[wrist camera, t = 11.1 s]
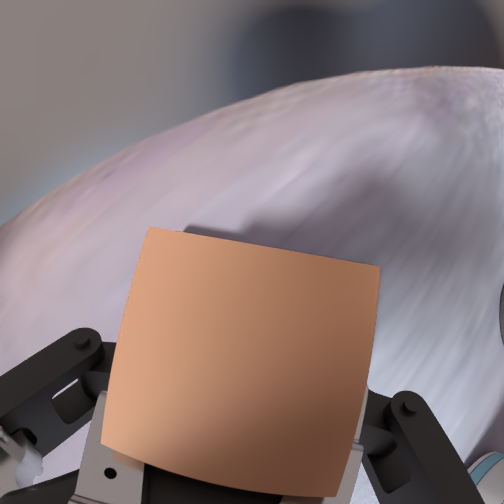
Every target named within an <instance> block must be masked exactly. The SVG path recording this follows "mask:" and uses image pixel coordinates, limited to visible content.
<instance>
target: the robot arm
mask: <svg viewBox="0 0 504 504" xmlns="http://www.w3.org/2000/svg"><path fill="white" fill-rule="evenodd" d="M116 344H117V343H113V342H102V340H101V336H100V334H99V333H98V332H97V331H95V330H93V329H91V328H78V329H75V330H73V331H71V332H70V333H68V334H66V335H65V336H63V337H62V338H60V339H58V340H57V341H55V342H53V343H52V344H50V345H49V346H47V347H46V348H44V349H42V350H41V351H39V352H38V353H36V354H34V355H33V356H31V357H30V358H28V359H27V360H25V361H23V362H22V363H20V364H19V365H17V366H16V367H14V368H13V369H11V370H10V371H8V372H6V373H5V374H3V375H2V376H0V504H349V503H350V500H351V497H352V493H353V490H354V486H355V483H356V479H357V475H358V472H359V468H360V464H361V462H362V464H363V466H364V469H365V471H366V473H367V475H368V478H369V480H370V482H371V485H372V487H373V489H374V491H375V494H376V496H377V498H378V501H379V503H380V504H485V502H484V500H483V498H482V497H481V495H480V493H479V491H478V489H477V487H476V485H475V483H474V482H473V480H472V478H471V476H470V474H469V473H468V471H467V469H466V467H465V465H464V464H463V462H462V460H461V459H460V457H459V455H458V453H457V452H456V450H455V448H454V447H453V445H452V443H451V442H450V440H449V438H448V437H447V435H446V433H445V432H444V430H443V429H442V427H441V425H440V424H439V422H438V421H437V419H436V417H435V416H434V414H433V413H432V411H431V410H430V408H429V406H428V405H427V403H426V402H425V400H424V399H423V398H422V397H421V396H420V395H418V394H416V393H414V392H412V391H400V392H398V393H396V394H395V395H394V396H393V398H389V397H386V396H383V395H380V394H377V393H375V392H373V391H371V390H369V389H368V385H367V384H366V389H365V394H364V399H363V404H362V408H361V413H360V417H359V421H358V425H357V429H356V433H355V437H354V441H353V445H352V448H351V452H350V455H349V459H348V462H347V465H346V468H345V472H344V475H343V478H342V481H341V484H340V487H339V490H338V492H337V495H336V497H306V496H291V495H280V494H271V493H263V492H256V491H249V490H243V489H238V488H232V487H227V486H223V485H218V484H214V483H209V482H205V481H201V480H198V479H194V478H190V477H187V476H183V475H180V474H177V473H173V472H170V471H167V470H164V469H161V468H158V467H156V466H153V465H150V464H147V463H145V462H142V461H139V460H137V459H134V458H132V457H130V456H127V455H125V454H122V453H120V452H118V451H116V450H113V449H111V448H109V447H107V446H105V445H103V444H101V436H102V427H103V419H104V411H105V404H106V398H107V391H108V385H109V379H110V374H111V369H112V363H113V358H114V353H115V348H116ZM76 379H78V381H77V382H76V383H74V384H73V385H72V386H70V387H69V388H67V389H66V390H65V391H63V392H62V393H60V394H59V395H58V396H56V397H55V398H53V399H52V397H53V396H54V395H55V394H56V393H57V392H59V391H60V390H62V389H63V388H64V387H66V386H67V385H69V384H70V383H71V382H73V381H74V380H76ZM91 419H92V421H91V424H90V428H89V432H88V436H87V440H86V444H85V448H84V452H83V457H82V461H81V466H80V469H78V470H75V471H72V472H70V473H67V474H64V475H62V476H59V477H56V478H53V479H50V480H47V481H44V482H41V483H38V484H35V485H32V484H33V480H34V478H35V476H40V475H41V474H42V473H43V467H42V458H43V457H44V456H46V455H47V454H48V453H50V452H51V451H52V450H53V449H55V448H56V447H57V446H59V445H60V444H61V443H62V442H64V441H65V440H66V439H67V438H69V437H70V436H71V435H73V434H74V433H75V432H76V431H78V430H79V429H80V428H81V427H83V426H84V425H85V424H86V423H88V422H89V421H90V420H91Z"/></svg>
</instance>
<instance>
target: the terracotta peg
mask: <svg viewBox="0 0 504 504" xmlns="http://www.w3.org/2000/svg"><path fill="white" fill-rule="evenodd" d="M379 281H380V267H378V266H373V265H367V264H362V263H356V262H351V261H345V260H340V259H334V258H329V257H323V256H317V255H312V254H306V253H300V252H295V251H289V250H283V249H278V248H272V247H266V246H261V245H255V244H249V243H243V242H237V241H232V240H226V239H220V238H214V237H208V236H202V235H196V234H190V233H185V232H179V231H173V230H167V229H161V228H155V227H149V229H148V232H147V235H146V238H145V241H144V244H143V247H142V250H141V253H140V256H139V260H138V263H137V266H136V270H135V273H134V277H133V280H132V284H131V287H130V291H129V294H128V298H127V302H126V306H125V310H124V314H123V318H122V322H121V326H120V330H119V335H118V339H117V344H116V348H115V353H114V358H113V363H112V369H111V374H110V379H109V385H108V391H107V398H106V404H105V411H104V419H103V427H102V436H101V444H103V445H105V446H107V447H109V448H111V449H113V450H116V451H118V452H120V453H122V454H125V455H127V456H130V457H132V458H134V459H137V460H139V461H142V462H145V463H147V464H150V465H153V466H156V467H158V468H161V469H164V470H167V471H170V472H173V473H177V474H180V475H183V476H187V477H190V478H194V479H198V480H201V481H205V482H209V483H214V484H218V485H223V486H227V487H232V488H238V489H243V490H249V491H256V492H263V493H271V494H280V495H291V496H306V497H336V495H337V492H338V490H339V487H340V484H341V481H342V478H343V475H344V472H345V468H346V465H347V462H348V459H349V455H350V452H351V448H352V445H353V441H354V437H355V433H356V429H357V425H358V421H359V417H360V413H361V408H362V404H363V399H364V394H365V389H366V384H367V379H368V373H369V367H370V361H371V355H372V348H373V341H374V333H375V325H376V316H377V306H378V295H379Z"/></svg>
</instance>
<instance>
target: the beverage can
mask: <svg viewBox="0 0 504 504" xmlns="http://www.w3.org/2000/svg"><path fill="white" fill-rule="evenodd" d="M467 471H468V473H469V474H470V476H471V478H472V480H473V482H474V483H475V485H476V487H477V489H478V491H479V493H480V495H481V497H482V498H483V500H484V502H485V504H504V453H500V452H496V451H494V452H490V453H487V454H485V455H484V456H482V457H481V458H479V459H478V460H477V461H476V462H475V463H473V464H472V465H471V466H470V467H469V468H468V469H467Z"/></svg>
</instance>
